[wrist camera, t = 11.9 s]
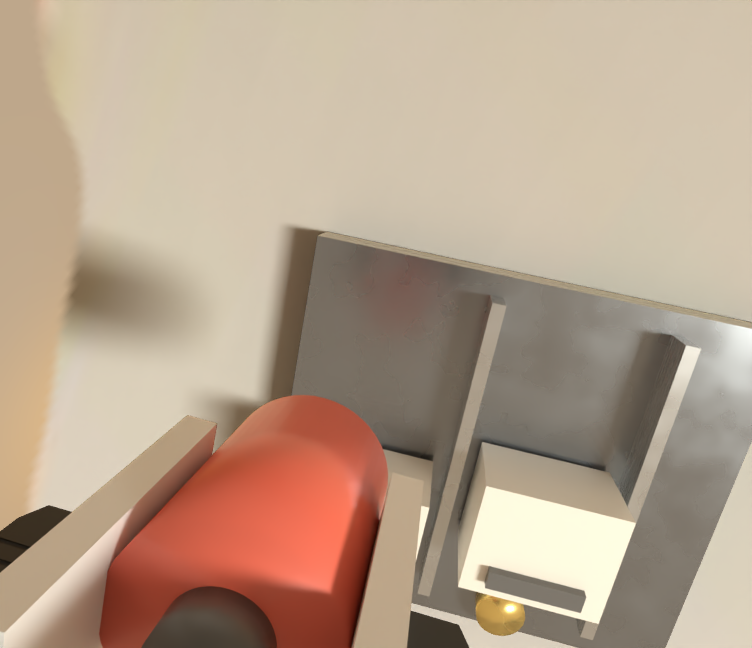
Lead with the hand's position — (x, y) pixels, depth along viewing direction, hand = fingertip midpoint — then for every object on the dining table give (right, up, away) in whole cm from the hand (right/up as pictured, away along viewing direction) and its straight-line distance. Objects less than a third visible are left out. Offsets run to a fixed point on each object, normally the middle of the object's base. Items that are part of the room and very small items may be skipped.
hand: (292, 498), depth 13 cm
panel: (+8, -2, +16) cm, 18 cm away
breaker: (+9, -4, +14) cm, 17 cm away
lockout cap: (0, 0, +2) cm, 2 cm away
